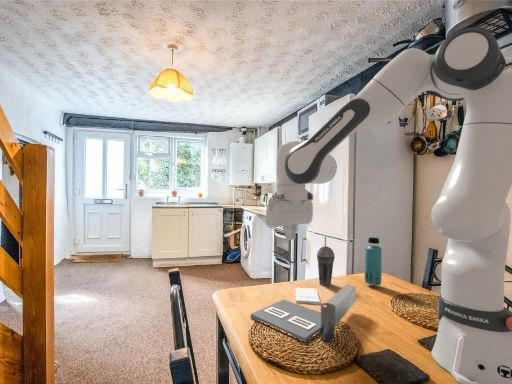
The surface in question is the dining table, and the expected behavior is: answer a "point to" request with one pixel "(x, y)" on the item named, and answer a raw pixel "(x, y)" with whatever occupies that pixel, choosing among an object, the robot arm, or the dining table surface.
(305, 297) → the external hard drive
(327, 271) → the beverage cup
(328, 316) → the grey rectangular block
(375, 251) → the beverage bottle
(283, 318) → the label panel
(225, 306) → the dining table surface
